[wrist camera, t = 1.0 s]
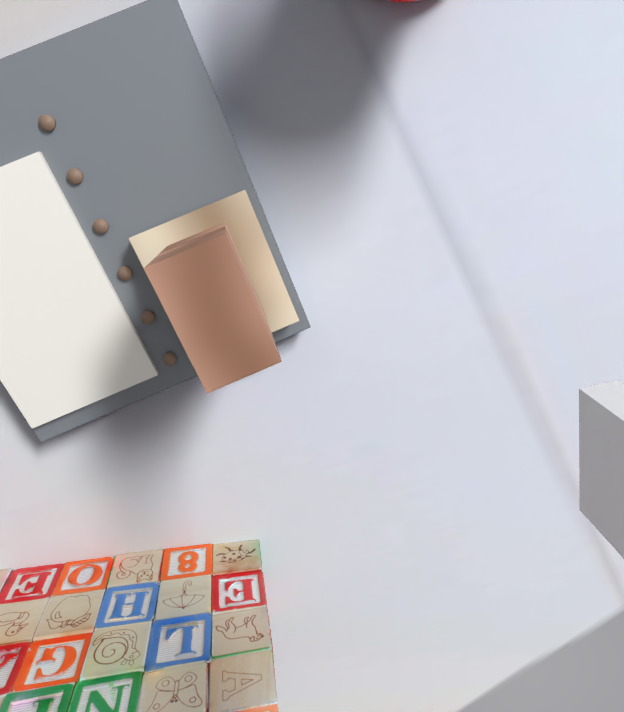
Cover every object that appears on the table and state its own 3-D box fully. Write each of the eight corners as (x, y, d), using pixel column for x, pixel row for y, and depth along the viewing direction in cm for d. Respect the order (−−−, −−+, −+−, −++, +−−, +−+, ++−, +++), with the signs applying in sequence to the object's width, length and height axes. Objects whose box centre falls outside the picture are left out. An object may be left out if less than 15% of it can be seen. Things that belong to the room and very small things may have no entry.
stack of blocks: (-72, 660, 33) (-228, 909, 22) (-97, 578, 32) (-283, 802, 20) (266, 612, 37) (286, 808, 25) (261, 535, 35) (280, 708, 23)
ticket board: (49, 430, 30) (38, 445, 28) (-143, 129, 25) (-172, 123, 23) (306, 321, 31) (311, 328, 29) (176, 1, 25) (172, -14, 23)
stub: (194, 359, 28) (181, 432, 20) (132, 236, 26) (87, 257, 17) (296, 315, 29) (328, 368, 20) (244, 189, 26) (254, 188, 18)
